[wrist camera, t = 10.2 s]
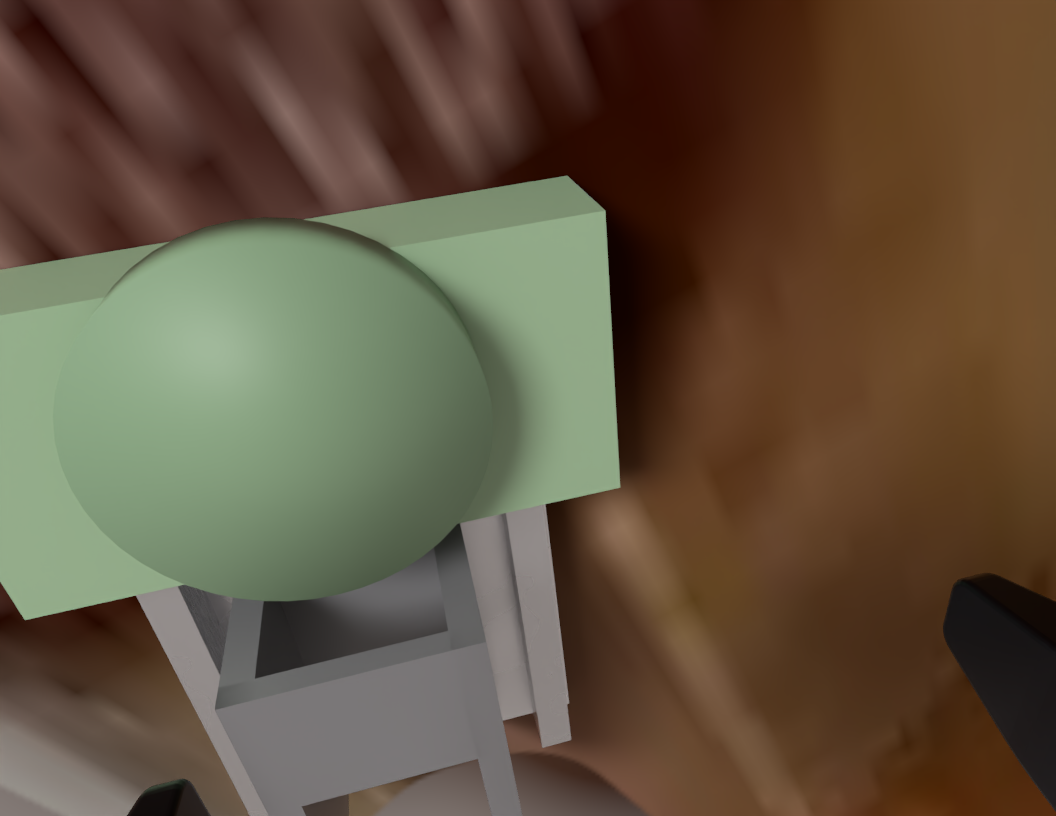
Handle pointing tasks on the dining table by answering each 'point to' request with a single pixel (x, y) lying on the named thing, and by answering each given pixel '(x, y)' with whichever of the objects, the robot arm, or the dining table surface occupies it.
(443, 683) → the chute
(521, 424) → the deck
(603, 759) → the dining table surface
